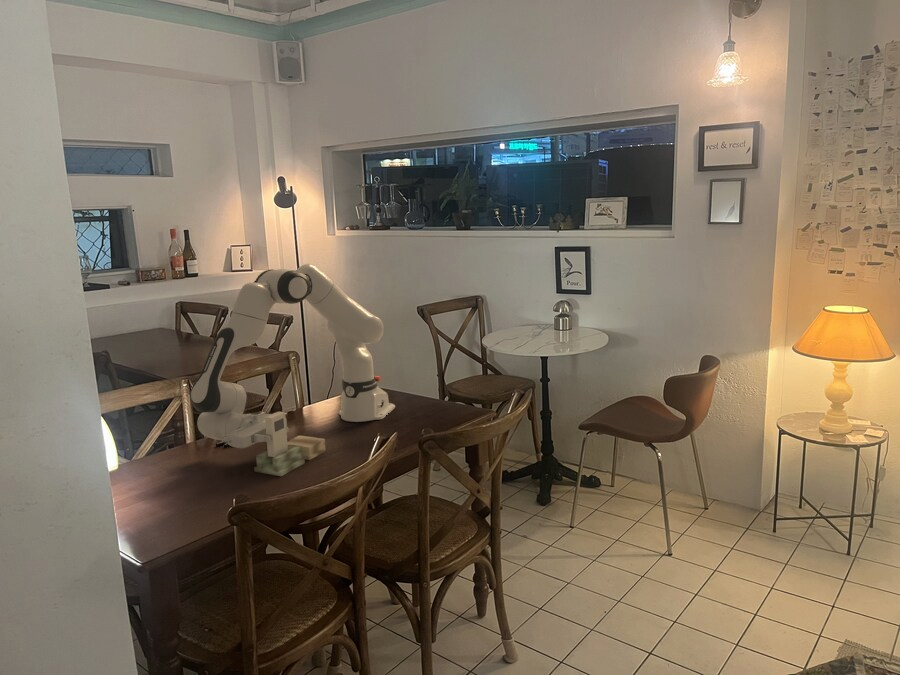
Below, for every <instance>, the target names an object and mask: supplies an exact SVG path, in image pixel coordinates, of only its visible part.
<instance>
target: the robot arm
mask: <svg viewBox="0 0 900 675" xmlns="http://www.w3.org/2000/svg"><path fill="white" fill-rule="evenodd" d="M304 300H306V302H307V303H308V304H309V305H310V306H311V307H313V309H315V311H317V312H318V314H320V316H322V318H324V319H326V320H327V328H328V331H329V333H330V334H331V335H332V336H333V338H334V340H335V343H336V347H337V348H338V352H339V355H340V359H341V360H340V361H341V368H342V369H341V370H342V380H341V386H342V387H341V388H342V392H341V395H340V396H341V397H340V410H339V411H338V415H339V416H340V418H341V419H342V421H346V422H352V423H354V422H355V423H359V422H360V423H361V422H369V421H375V420H383V419H385V417H386V415H387V416H388V415H389V414H390V413H391V412H392V411H394V409H395V408H396V405H395V404H394V403H392V402H390V401H389V395H388V392H386V391H385V390H383V389H382V388H381V387H379V386H378V384H377V382H381V376H379V375H377V376H376V375H374V361H373V355H372V354H371V353H370V351H369V349H368V348H367V346H366V345H369V344H374V343H377V342H379V341H380V340H381V339H382V337H383V334H384V328H385V326H384V323H383V321H382V319H381V318H380V317H378V316H377V315H375V314H373V313H371V312H369V310H368V309H366V308H365V307H363V306H362V305H361V304H359V303H358V302H357V301H355V300H354V299H352V298H351V297H349V295H347V294H346V293H345V291H344V290H342V289H341V288H340V287H339V285H337V284H336V283H335V282H334V280H332V278H331V277H329V275H328V274H326V273H325V272H324V271H323V270H322V269H320V268H319V267H317V266H315V265H314V264H311V263H306V264H302V265H300V266H299V267H298V268H296V269H295V270H294V269H293V270H290V269H285V268H281V269H266V270H265V271H263V272H260V273H259V275H258V276H257V277H256V278H255V280H254V281H253V282H247V283H245V284H243V286H241V289H240V290H239V293H238V294H237V297H236V299H235V302H234V305H233V308H232V311H231V315H230V316H229V317H230V318H229V320H228V322H227V323H226V325H225V327H224V328H222V329H221V330H219V332H218V333H217V334H216V337H215V339H214V341H213V343H212V345H211V348H210V350H209V353H208V354H207V357H206V359H205V362H204V364H203V366H202V369H201V371H200V373H199V375H198V377H197V379H196V380H195V382H193V385H192V387H191V389H190V392H189V399H190V402H191V404H192V407H193V408H194V409H195V410H196V411H197V412H199V413H200V414H199V416H198V418H197V429H198V431H199V432H200V434H202V435H203V436H204V437H206V438H207V437H208V438H210V439H212V440H216V441H217V440H218V441H221V442H227V443H228V445H230V446H231V447H232V446H233V447H232V448H237V449H247V448H249V447H251V446H253V445H255V444H257V443H264V442H265V443H267V442H270V441H271V440H272V435H269V434H267V435H266V426H265V417H267V416H269V415H271V414H272V413H265V411H257V412H252V413H245V410H246V406H247V402H248V394H247V391H246V389H245V387H244V386H243V385H242V384H240V383H235V382H231V381H230V382H229V381H228V382H227V381H222V380H221V377H222V374H223V373H224V371H225V368H226V365H227V364H228V360H229V358H230V356H231V355H232V354H233V353H234V352H235V351H237V350H239V349H241V348H243V347H244V348H245V347H248V346H251V345H254V344H256V343H257V342H259V341H260V340H261V339H262V337H263V335H264V333H265V331H266V328H267V323H268V320H269V317H270V316H269V315H270V311H271V309H272V308H273V306H274V305H275V304H288V305H289V304H290V305H295V304H299V303H301V302H303V301H304ZM388 413H389V414H388ZM285 419H286V431H287V434H288V433H289V431H290V430H289V426H288V427H287V423H288V422H287V421H288V420H287V417H285Z"/></svg>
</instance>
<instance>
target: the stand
mask: <svg viewBox="0 0 900 675" xmlns="http://www.w3.org/2000/svg"><path fill="white" fill-rule="evenodd" d="M287 444H288V450H290V449H292V448H294V447H296V446H299V447H301V457H302V459H305V460H308V461H311V460H313V459H314V458H316V457H318V456H320V455H322V454H323V453H325V452H326V438H319V437H314V436H308V435H307V436H306V435H299V434H298V435H297V436H295V437H293V438H291V439H289V440H287Z"/></svg>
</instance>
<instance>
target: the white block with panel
mask: <svg viewBox="0 0 900 675" xmlns="http://www.w3.org/2000/svg"><path fill="white" fill-rule="evenodd" d="M270 414H271V415H269V416H267V417H265V426H266V435H267V434H269V435H272V440H271V441H270V442H266V444H267V445H266V446H267V447H266V449H267V450H268V456H269V457H277V456H279V455H280V454H282V453H284V452H286V451H288V444H287V441H288V433H287V431H286V419H287V418H286V412H284V411H276V412H274V413H270ZM285 418H286V419H285Z"/></svg>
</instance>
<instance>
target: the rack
mask: <svg viewBox="0 0 900 675" xmlns="http://www.w3.org/2000/svg"><path fill="white" fill-rule="evenodd" d="M255 460H256V466H254V468H253V470H254V472H256V473H262V474H267V475H271V476H278V477H282V476H284V475H286V474H288V473H290V472H292V471H293V470H295V469H296V468H298V467H300V466H302V465H304V464H305V463H306V462H305V461H306V459H302V457H301V447H299V446H296V447H294V448H292V449H290V450H288V451H286V452H284V453H282V454H280V455H279V456H277V457H269V456H268V449H267V450H265V451H263V452H261V453H259V454H257V455H255Z"/></svg>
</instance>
